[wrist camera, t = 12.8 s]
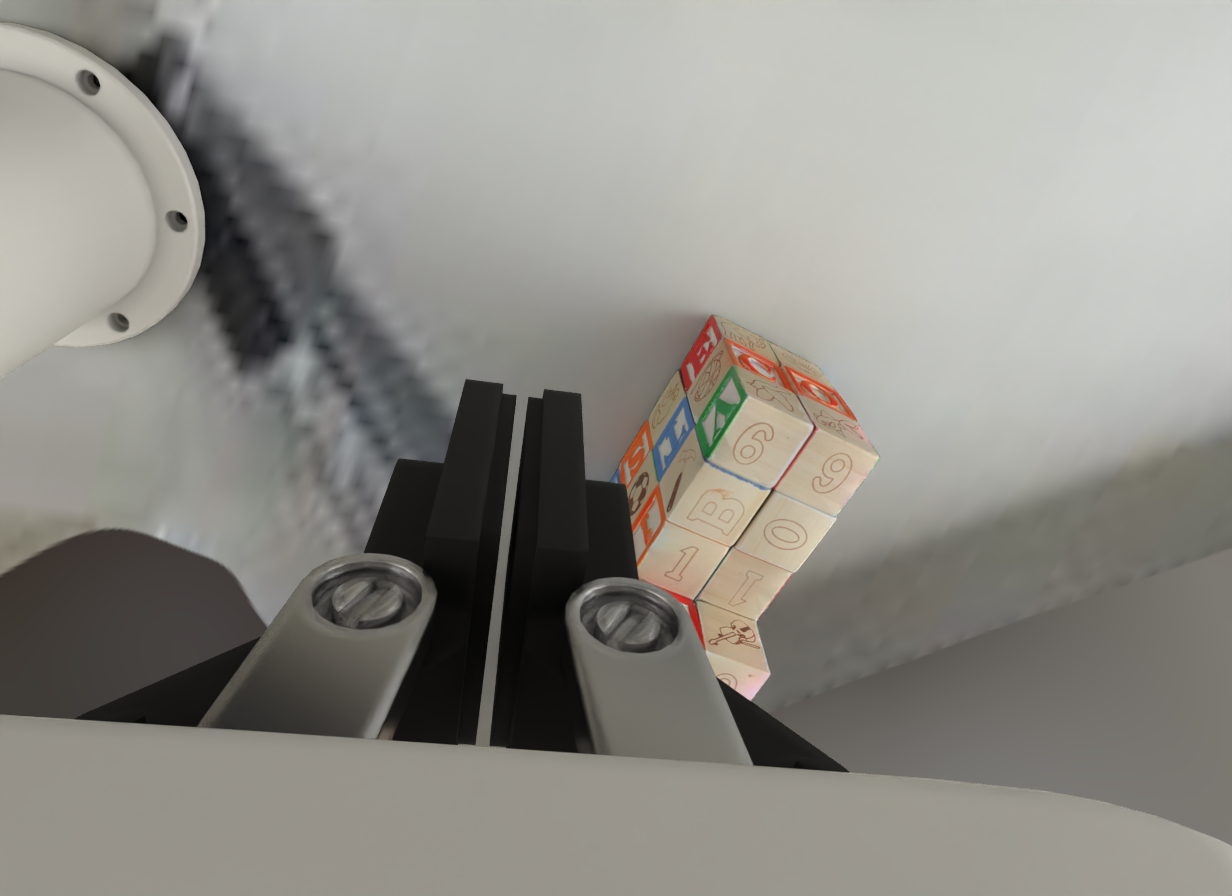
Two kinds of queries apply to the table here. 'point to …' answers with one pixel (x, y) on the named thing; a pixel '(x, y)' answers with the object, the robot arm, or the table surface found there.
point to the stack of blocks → (739, 486)
